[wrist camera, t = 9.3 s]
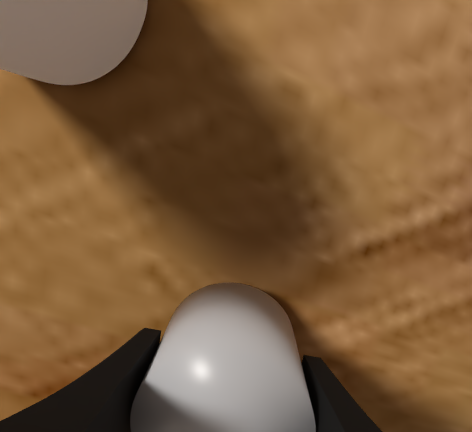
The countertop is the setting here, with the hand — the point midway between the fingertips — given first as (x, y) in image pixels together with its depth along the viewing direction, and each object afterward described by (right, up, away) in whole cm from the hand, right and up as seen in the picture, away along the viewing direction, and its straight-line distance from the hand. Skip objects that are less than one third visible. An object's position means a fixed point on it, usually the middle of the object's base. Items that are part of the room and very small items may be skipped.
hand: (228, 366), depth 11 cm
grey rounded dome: (0, 0, +1) cm, 2 cm away
